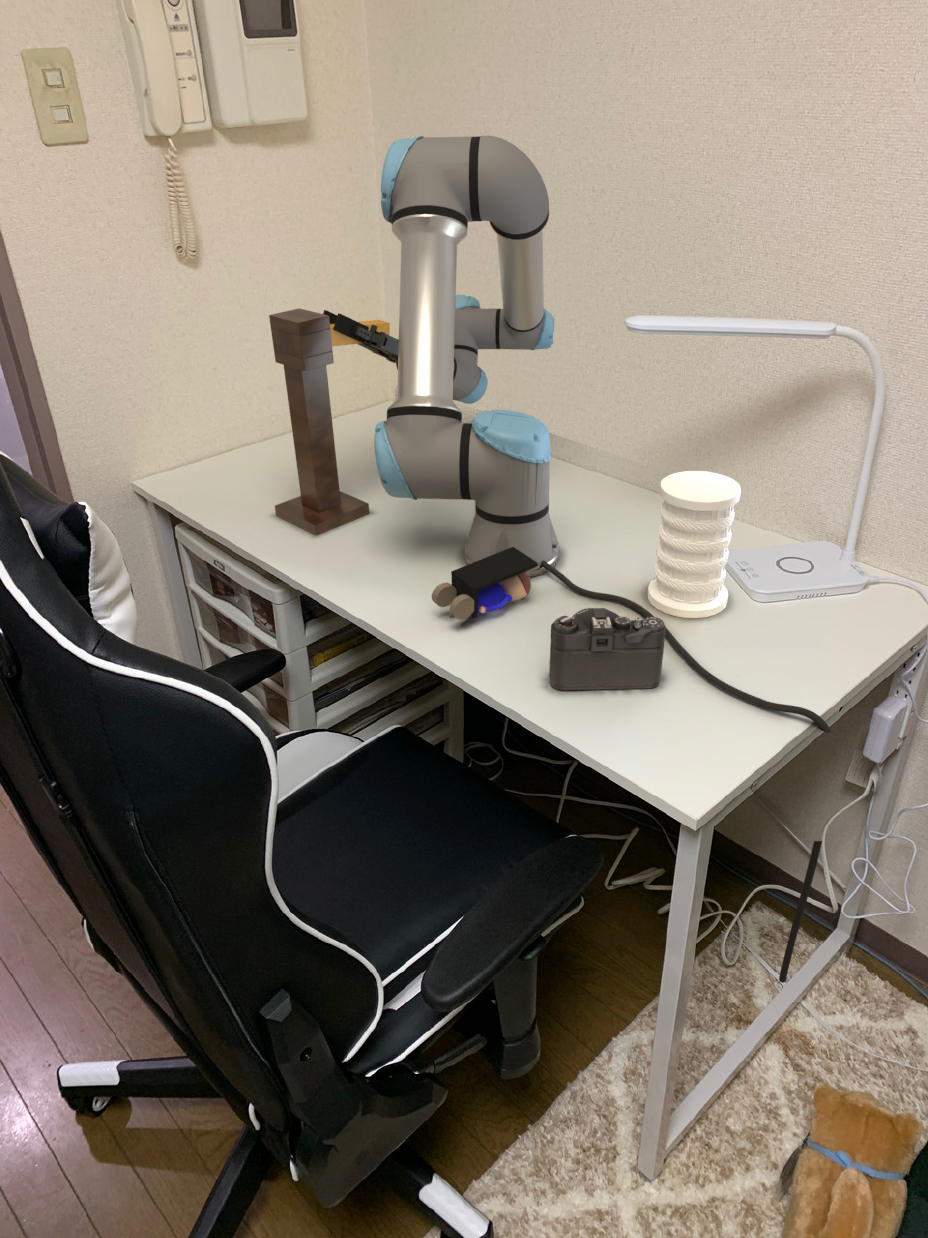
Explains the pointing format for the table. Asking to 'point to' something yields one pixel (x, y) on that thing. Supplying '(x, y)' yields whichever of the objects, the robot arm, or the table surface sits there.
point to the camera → (605, 651)
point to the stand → (311, 422)
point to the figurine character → (486, 584)
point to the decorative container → (693, 543)
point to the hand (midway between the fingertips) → (330, 319)
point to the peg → (346, 340)
